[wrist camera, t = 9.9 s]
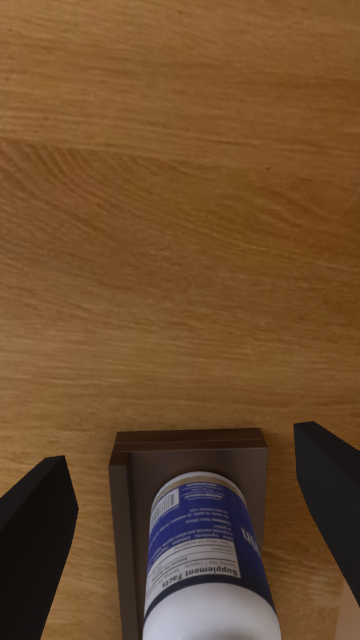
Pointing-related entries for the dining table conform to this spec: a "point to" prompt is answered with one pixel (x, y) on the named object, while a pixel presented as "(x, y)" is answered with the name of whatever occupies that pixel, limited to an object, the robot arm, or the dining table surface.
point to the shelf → (158, 469)
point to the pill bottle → (205, 565)
